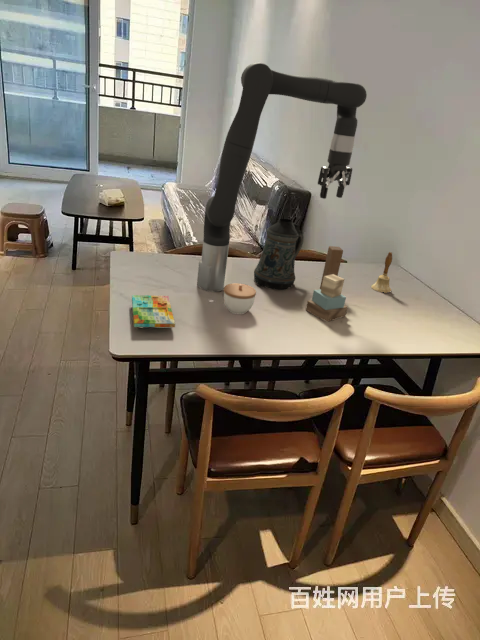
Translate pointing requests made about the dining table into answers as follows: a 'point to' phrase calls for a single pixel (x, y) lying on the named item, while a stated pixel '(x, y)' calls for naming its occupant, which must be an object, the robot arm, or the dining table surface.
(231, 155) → the robot arm
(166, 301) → the puzzle game
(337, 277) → the maple block
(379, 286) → the hand bell
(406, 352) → the dining table surface
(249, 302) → the lidded jar
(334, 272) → the wooden block
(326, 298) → the tower top
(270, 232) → the beer stein
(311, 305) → the tower base
